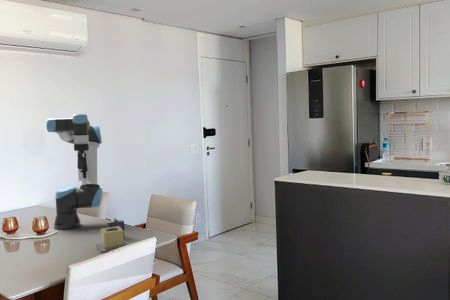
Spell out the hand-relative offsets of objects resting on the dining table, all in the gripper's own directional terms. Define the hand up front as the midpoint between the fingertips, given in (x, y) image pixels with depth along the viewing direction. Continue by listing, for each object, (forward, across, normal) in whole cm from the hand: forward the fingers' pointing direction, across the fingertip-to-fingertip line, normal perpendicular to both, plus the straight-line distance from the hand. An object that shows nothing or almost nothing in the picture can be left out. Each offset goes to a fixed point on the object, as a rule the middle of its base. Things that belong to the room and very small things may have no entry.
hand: (82, 182), depth 224 cm
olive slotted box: (+30, +23, +10) cm, 39 cm away
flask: (+31, +7, +15) cm, 35 cm away
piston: (+31, +23, +10) cm, 40 cm away
